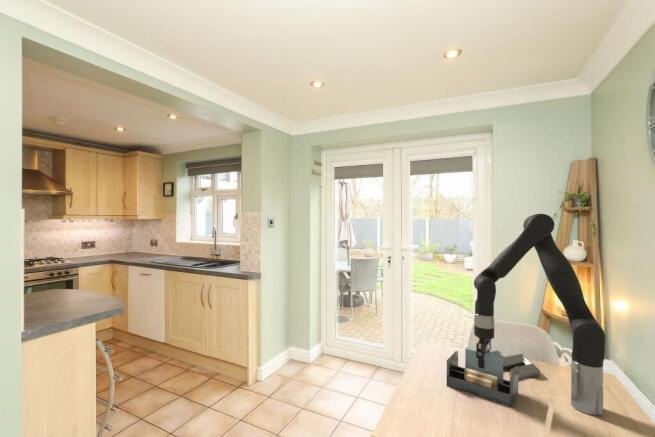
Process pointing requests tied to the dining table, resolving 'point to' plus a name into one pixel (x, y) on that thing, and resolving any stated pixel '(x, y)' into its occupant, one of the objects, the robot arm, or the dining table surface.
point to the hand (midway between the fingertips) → (483, 364)
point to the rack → (503, 395)
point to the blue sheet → (485, 363)
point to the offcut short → (479, 381)
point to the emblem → (519, 365)
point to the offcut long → (483, 375)
